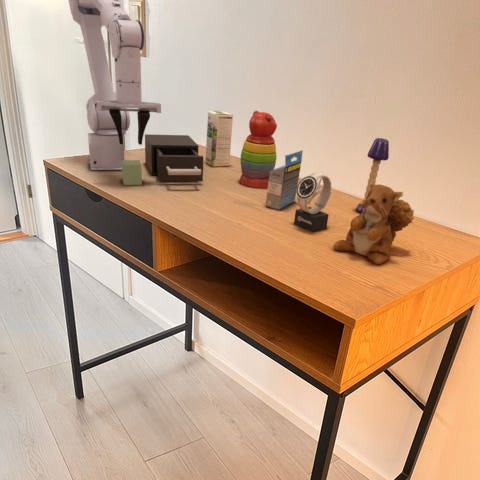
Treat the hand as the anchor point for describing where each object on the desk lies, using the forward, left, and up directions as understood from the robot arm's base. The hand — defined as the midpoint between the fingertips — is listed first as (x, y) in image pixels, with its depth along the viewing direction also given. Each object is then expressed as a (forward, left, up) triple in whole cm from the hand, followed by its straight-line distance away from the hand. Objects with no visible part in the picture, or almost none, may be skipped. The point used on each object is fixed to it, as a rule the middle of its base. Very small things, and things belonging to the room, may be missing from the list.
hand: (130, 143), depth 119 cm
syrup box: (+27, +19, -10) cm, 34 cm away
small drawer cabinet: (+12, +13, -9) cm, 20 cm away
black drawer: (+12, +1, -9) cm, 15 cm away
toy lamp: (+52, -26, -10) cm, 59 cm away
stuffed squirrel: (+41, -48, -10) cm, 64 cm away
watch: (+34, -34, -10) cm, 49 cm away
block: (0, 0, -9) cm, 9 cm away
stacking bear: (+33, -1, -10) cm, 34 cm away
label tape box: (+33, -19, -10) cm, 39 cm away
